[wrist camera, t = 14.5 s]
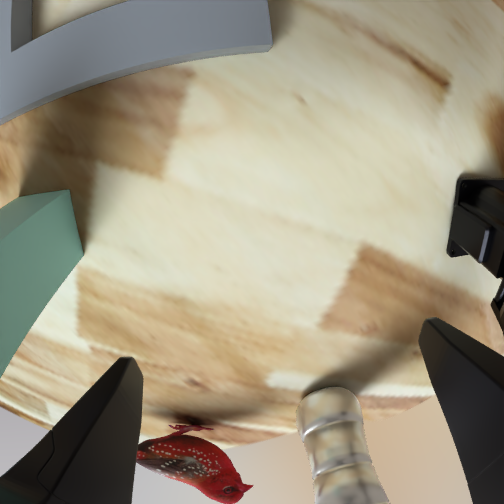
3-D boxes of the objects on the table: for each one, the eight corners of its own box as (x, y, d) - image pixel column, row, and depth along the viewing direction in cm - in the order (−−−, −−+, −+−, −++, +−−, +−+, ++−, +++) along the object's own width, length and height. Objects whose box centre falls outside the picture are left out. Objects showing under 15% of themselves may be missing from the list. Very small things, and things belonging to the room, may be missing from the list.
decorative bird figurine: (249, 431, 32) (253, 506, 23) (106, 420, 31) (89, 487, 22) (250, 420, 30) (255, 500, 22) (99, 407, 29) (79, 479, 20)
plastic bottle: (283, 392, 28) (310, 586, 10) (349, 369, 27) (406, 563, 9) (302, 419, 31) (329, 579, 13) (359, 399, 30) (405, 559, 12)
